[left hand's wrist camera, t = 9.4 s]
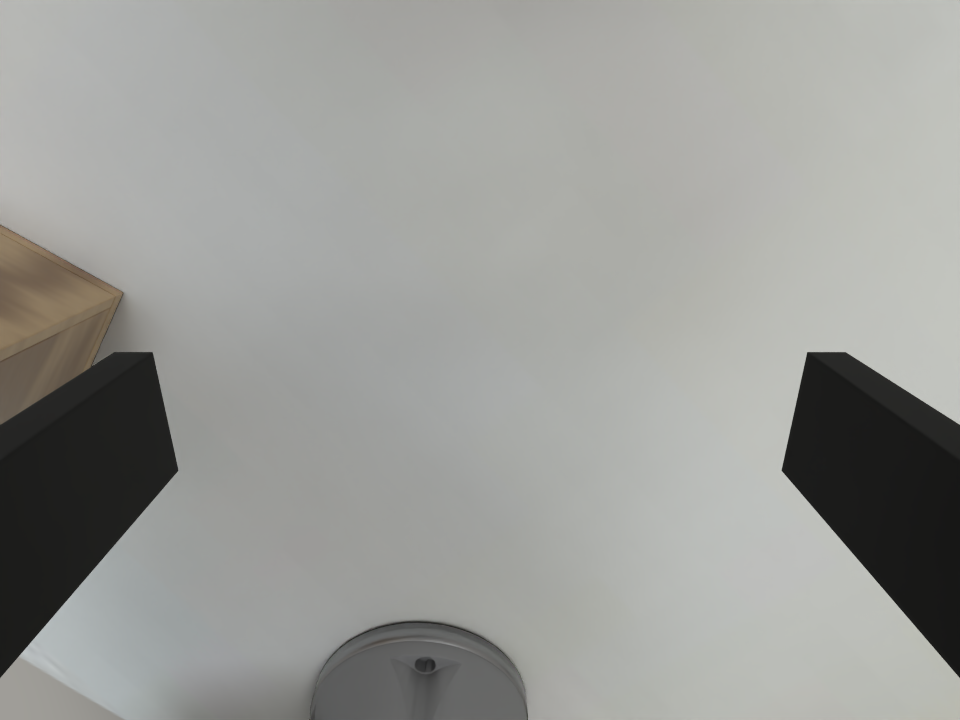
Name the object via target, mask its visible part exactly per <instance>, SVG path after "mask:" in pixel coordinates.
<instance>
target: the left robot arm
mask: <svg viewBox="0 0 960 720" xmlns="http://www.w3.org/2000/svg"><path fill="white" fill-rule="evenodd" d="M177 472H178V467H177V462H176V458H175V453H174V448H173V444H172V439H171V435H170V430H169V425H168V421H167V416H166V412H165V407H164V402H163V398H162V393H161V389H160V384H159V379H158V375H157V370H156V366H155V361H154V357H153V352H114V353H113V354H111V355H109V356H108V357H106V358H105V359H103V360H102V361H100V362H98V363H97V364H95V365H94V366H92V367H91V368H89V369H87V370H86V371H84V372H83V373H81V374H80V375H78V376H76V377H75V378H73V379H72V380H70V381H69V382H67V383H65V384H64V385H62V386H61V387H59V388H58V389H56V390H54V391H53V392H51V393H50V394H48V395H47V396H45V397H43V398H42V399H40V400H39V401H37V402H36V403H34V404H32V405H31V406H29V407H28V408H26V409H25V410H23V411H21V412H20V413H18V414H17V415H15V416H14V417H12V418H10V419H9V420H7V421H6V422H4V423H3V424H1V425H0V677H1V676H2V675H3V674H4V673H5V672H6V670H7V669H8V668H9V667H10V666H11V665H12V663H13V662H14V661H15V660H16V659H17V658H18V656H19V655H20V654H21V653H22V652H23V651H24V650H25V648H26V647H27V646H28V645H29V644H30V643H31V641H32V640H33V639H34V638H35V637H36V636H37V634H38V633H39V632H40V631H41V630H42V629H43V627H44V626H45V625H46V624H47V623H48V622H49V620H50V619H51V618H52V617H53V616H54V615H55V613H56V612H57V611H58V610H59V609H60V608H61V606H62V605H63V604H64V603H65V602H66V601H67V599H68V598H69V597H70V596H71V595H72V594H73V593H74V591H75V590H76V589H77V588H78V587H79V586H80V584H81V583H82V582H83V581H84V580H85V579H86V577H87V576H88V575H89V574H90V573H91V572H92V570H93V569H94V568H95V567H96V566H97V565H98V563H99V562H100V561H101V560H102V559H103V558H104V556H105V555H106V554H107V553H108V552H109V551H110V549H111V548H112V547H113V546H114V545H115V544H116V542H117V541H118V540H119V539H120V538H121V537H122V536H123V534H124V533H125V532H126V531H127V530H128V529H129V527H130V526H131V525H132V524H133V523H134V522H135V520H136V519H137V518H138V517H139V516H140V515H141V513H142V512H143V511H144V510H145V509H146V508H147V506H148V505H149V504H150V503H151V502H152V501H153V499H154V498H155V497H156V496H157V495H158V494H159V492H160V491H161V490H162V489H163V488H164V487H165V485H166V484H167V483H168V482H169V481H170V480H171V479H172V477H173V476H174V475H175V474H176V473H177ZM782 472H783V473H784V474H785V475H786V476H787V477H788V479H789V480H790V481H791V482H792V483H793V484H794V485H795V487H796V488H797V489H798V490H799V491H800V492H801V494H802V495H803V496H804V497H805V498H806V499H807V501H808V502H809V503H810V504H811V505H812V506H813V508H814V509H815V510H816V511H817V512H818V513H819V515H820V516H821V517H822V518H823V519H824V520H825V522H826V523H827V524H828V525H829V526H830V527H831V529H832V530H833V531H834V532H835V533H836V534H837V536H838V537H839V538H840V539H841V540H842V541H843V542H844V544H845V545H846V546H847V547H848V548H849V549H850V551H851V552H852V553H853V554H854V555H855V556H856V558H857V559H858V560H859V561H860V562H861V563H862V565H863V566H864V567H865V568H866V569H867V570H868V572H869V573H870V574H871V575H872V576H873V577H874V579H875V580H876V581H877V582H878V583H879V584H880V586H881V587H882V588H883V589H884V590H885V591H886V593H887V594H888V595H889V596H890V597H891V598H892V599H893V601H894V602H895V603H896V604H897V605H898V606H899V608H900V609H901V610H902V611H903V612H904V613H905V615H906V616H907V617H908V618H909V619H910V620H911V622H912V623H913V624H914V625H915V626H916V627H917V629H918V630H919V631H920V632H921V633H922V634H923V636H924V637H925V638H926V639H927V640H928V641H929V643H930V644H931V645H932V646H933V647H934V648H935V650H936V651H937V652H938V653H939V654H940V655H941V656H942V658H943V659H944V660H945V661H946V662H947V663H948V665H949V666H950V667H951V668H952V669H953V670H954V672H955V673H956V674H957V675H958V676H959V677H960V425H959V424H957V423H956V422H954V421H953V420H951V419H950V418H948V417H946V416H945V415H943V414H942V413H940V412H939V411H937V410H935V409H934V408H932V407H931V406H929V405H928V404H926V403H924V402H923V401H921V400H920V399H918V398H917V397H915V396H913V395H912V394H910V393H909V392H907V391H906V390H904V389H902V388H901V387H899V386H898V385H896V384H895V383H893V382H891V381H890V380H888V379H887V378H885V377H884V376H882V375H880V374H879V373H877V372H876V371H874V370H873V369H871V368H869V367H868V366H866V365H865V364H863V363H862V362H860V361H858V360H857V359H855V358H854V357H852V356H851V355H849V354H847V353H846V352H807V357H806V361H805V366H804V370H803V375H802V379H801V384H800V389H799V393H798V398H797V402H796V407H795V412H794V416H793V421H792V425H791V430H790V435H789V439H788V444H787V448H786V453H785V458H784V462H783V467H782Z"/></svg>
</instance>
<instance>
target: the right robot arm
mask: <svg viewBox="0 0 960 720" xmlns="http://www.w3.org/2000/svg"><path fill="white" fill-rule="evenodd" d="M309 720H528V713H527V701H526V693H525V688H524V684H523V681H522V679H521V677H520V675H519V673H518V671H517V669H516V668H515V666H514V665H513V664H512V662H511V661H510V660H509V659H508V658H507V657H506V656H505V655H504V654H503V653H502V652H501V651H500V650H499V649H497V648H496V647H495V646H493V645H492V644H490V643H489V642H487V641H486V640H484V639H482V638H480V637H478V636H476V635H474V634H472V633H469V632H466V631H464V630H461V629H457V628H454V627H450V626H445V625H440V624H432V623H404V624H395V625H390V626H385V627H381V628H378V629H375V630H372V631H369V632H366V633H364V634H362V635H360V636H358V637H356V638H354V639H353V640H351V641H349V642H348V643H346V644H345V645H344V646H342V647H341V648H340V649H339V650H338V651H337V652H335V653H334V654H333V656H332V657H331V658H330V659H329V660H328V662H327V663H326V665H325V666H324V668H323V670H322V671H321V673H320V676H319V679H318V682H317V685H316V688H315V692H314V695H313V699H312V703H311V708H310V718H309Z"/></svg>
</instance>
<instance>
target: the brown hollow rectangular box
mask: <svg viewBox="0 0 960 720" xmlns="http://www.w3.org/2000/svg"><path fill="white" fill-rule="evenodd" d="M122 295H123V292H121V291H119V290H117V289H116V288H114V287H112V286H110V285H108V284H107V283H105V282H103V281H101V280H99V279H97V278H96V277H94V276H92V275H90V274H88V273H87V272H85V271H83V270H81V269H79V268H77V267H76V266H74V265H72V264H70V263H68V262H66V261H65V260H63V259H61V258H59V257H57V256H56V255H54V254H52V253H50V252H48V251H46V250H45V249H43V248H41V247H39V246H37V245H36V244H34V243H32V242H30V241H28V240H26V239H25V238H23V237H21V236H19V235H17V234H15V233H14V232H12V231H10V230H8V229H6V228H5V227H3V226H1V225H0V425H1V424H3V423H4V422H6V421H7V420H9V419H10V418H12V417H14V416H15V415H17V414H18V413H20V412H21V411H23V410H25V409H26V408H28V407H29V406H31V405H32V404H34V403H36V402H37V401H39V400H40V399H42V398H43V397H45V396H47V395H48V394H50V393H51V392H53V391H54V390H56V389H58V388H59V387H61V386H62V385H64V384H65V383H67V382H69V381H70V380H72V379H73V378H75V377H76V376H78V375H80V374H81V373H83V372H84V371H86V370H87V369H89V368H90V367H91V365H92V363H93V360H94V358H95V356H96V353H97V351H98V349H99V347H100V344H101V342H102V340H103V338H104V335H105V333H106V331H107V329H108V326H109V324H110V322H111V319H112V317H113V315H114V313H115V310H116V308H117V306H118V304H119V301H120V299H121V297H122Z"/></svg>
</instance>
